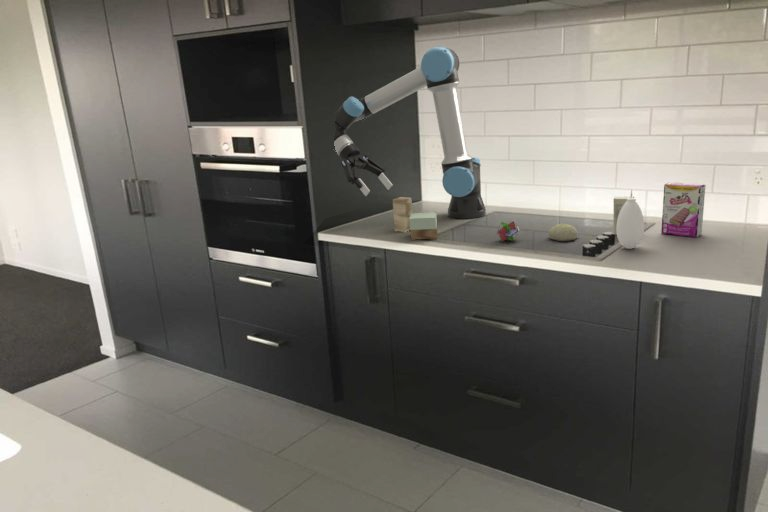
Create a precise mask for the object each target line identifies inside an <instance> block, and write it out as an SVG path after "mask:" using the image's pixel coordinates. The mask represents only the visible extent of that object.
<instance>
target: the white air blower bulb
mask: <svg viewBox="0 0 768 512" xmlns="http://www.w3.org/2000/svg"><path fill="white" fill-rule="evenodd" d="M629 197H630V198H627V202H626V203H625V204H624V205H623V207H622V209H621V211H620V213H619V216H618V219H617V225H616V233H617V235H616V238H617V240H618V242H619V244H620V245H622V246H623V248H625V249H626V250H627V249H628V250H633V248H636V247H637V246H638V245H640V244H641V241H642V239H643V237H644V233H645V220H644V218H645V217H644V215H643V211H642V210H641V207H640V205H639V203H638V202H637V199H636V197H634V198H632V197H633V190H632V189H631V190H630V196H629Z"/></svg>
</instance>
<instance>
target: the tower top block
mask: <svg viewBox="0 0 768 512" xmlns="http://www.w3.org/2000/svg"><path fill="white" fill-rule="evenodd" d="M437 219H438V218H437V211H436V212H434V211H433V212H431V211H430V212H412V213H411V215H410V218H409V221H410V230H421V229H436V225H437V226H438V223H437V222H438V221H437Z"/></svg>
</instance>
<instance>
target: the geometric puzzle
mask: <svg viewBox="0 0 768 512" xmlns="http://www.w3.org/2000/svg"><path fill="white" fill-rule="evenodd" d="M500 225H501V226H502V228H500V227H498V228H497V229H498V230H497V231H496V234H498V237H499V238H500V241H501V243H503V242H506V240H507V241H508V240H509V242H515V241H516V240H515V239H514V238H515V237H513V236H514V235H515V236H517V235H518V232H520V231H521V230H520V227H519V225H518V224H517V223H516V222H515V221H514V220H511V221H508V223H506V222H504V221H500Z"/></svg>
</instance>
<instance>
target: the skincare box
mask: <svg viewBox="0 0 768 512" xmlns="http://www.w3.org/2000/svg"><path fill="white" fill-rule="evenodd" d="M630 197H631V196H614V197H613V235H614V236H617V233H616V225H617V219H618V216H619V213H620V211H621V209H622V207H623V205H624V204H625V203H626V202H627V198H630ZM632 198H635V196H632Z"/></svg>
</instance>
